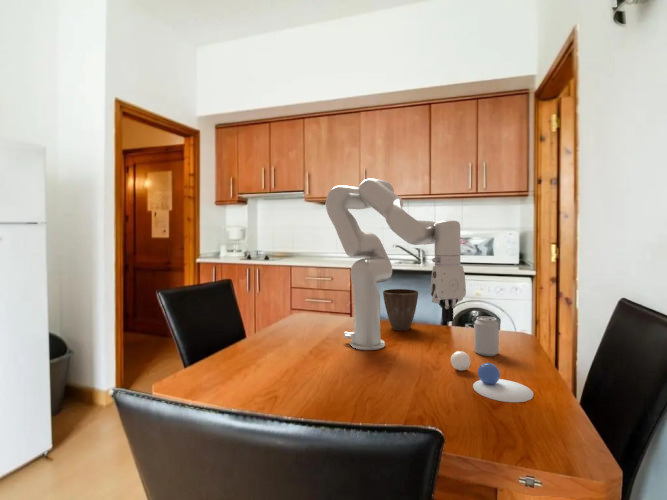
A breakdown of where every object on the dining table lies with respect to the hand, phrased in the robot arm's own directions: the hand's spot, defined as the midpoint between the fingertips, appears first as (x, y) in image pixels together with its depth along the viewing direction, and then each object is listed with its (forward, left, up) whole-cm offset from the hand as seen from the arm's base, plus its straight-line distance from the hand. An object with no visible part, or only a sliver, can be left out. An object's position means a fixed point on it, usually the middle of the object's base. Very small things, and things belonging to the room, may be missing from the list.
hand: (447, 320), depth 114 cm
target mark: (+15, -15, -13) cm, 25 cm away
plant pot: (-23, +38, -14) cm, 47 cm away
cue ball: (+4, -4, -11) cm, 12 cm away
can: (+11, +15, -14) cm, 23 cm away
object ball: (+12, -12, -11) cm, 20 cm away
